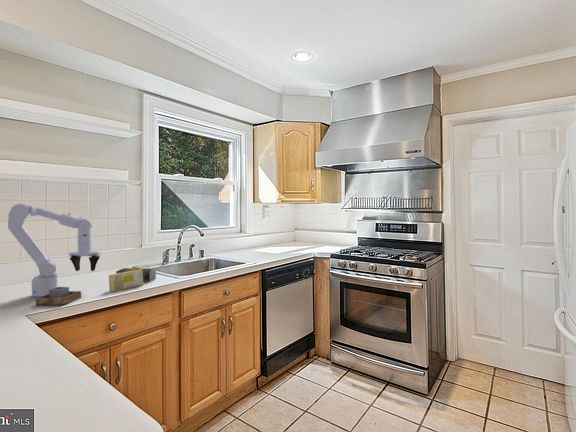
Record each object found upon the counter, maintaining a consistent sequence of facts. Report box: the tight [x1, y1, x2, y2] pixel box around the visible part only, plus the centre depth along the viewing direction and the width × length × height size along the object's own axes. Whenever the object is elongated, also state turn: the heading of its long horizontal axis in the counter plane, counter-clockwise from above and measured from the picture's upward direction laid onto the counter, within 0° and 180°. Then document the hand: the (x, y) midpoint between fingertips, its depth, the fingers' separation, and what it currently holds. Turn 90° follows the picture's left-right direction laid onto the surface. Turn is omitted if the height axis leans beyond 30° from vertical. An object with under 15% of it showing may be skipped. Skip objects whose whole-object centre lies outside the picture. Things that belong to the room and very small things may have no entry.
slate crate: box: [49, 286, 70, 298], centre depth 142 cm, size 5×5×5 cm
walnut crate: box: [35, 290, 82, 307], centre depth 142 cm, size 12×12×3 cm
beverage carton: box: [115, 267, 157, 283], centre depth 181 cm, size 8×19×7 cm, turn 88°
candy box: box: [108, 268, 144, 292], centre depth 165 cm, size 16×2×8 cm, turn 141°
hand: (85, 270), depth 161 cm, fingers open, 7 cm apart
